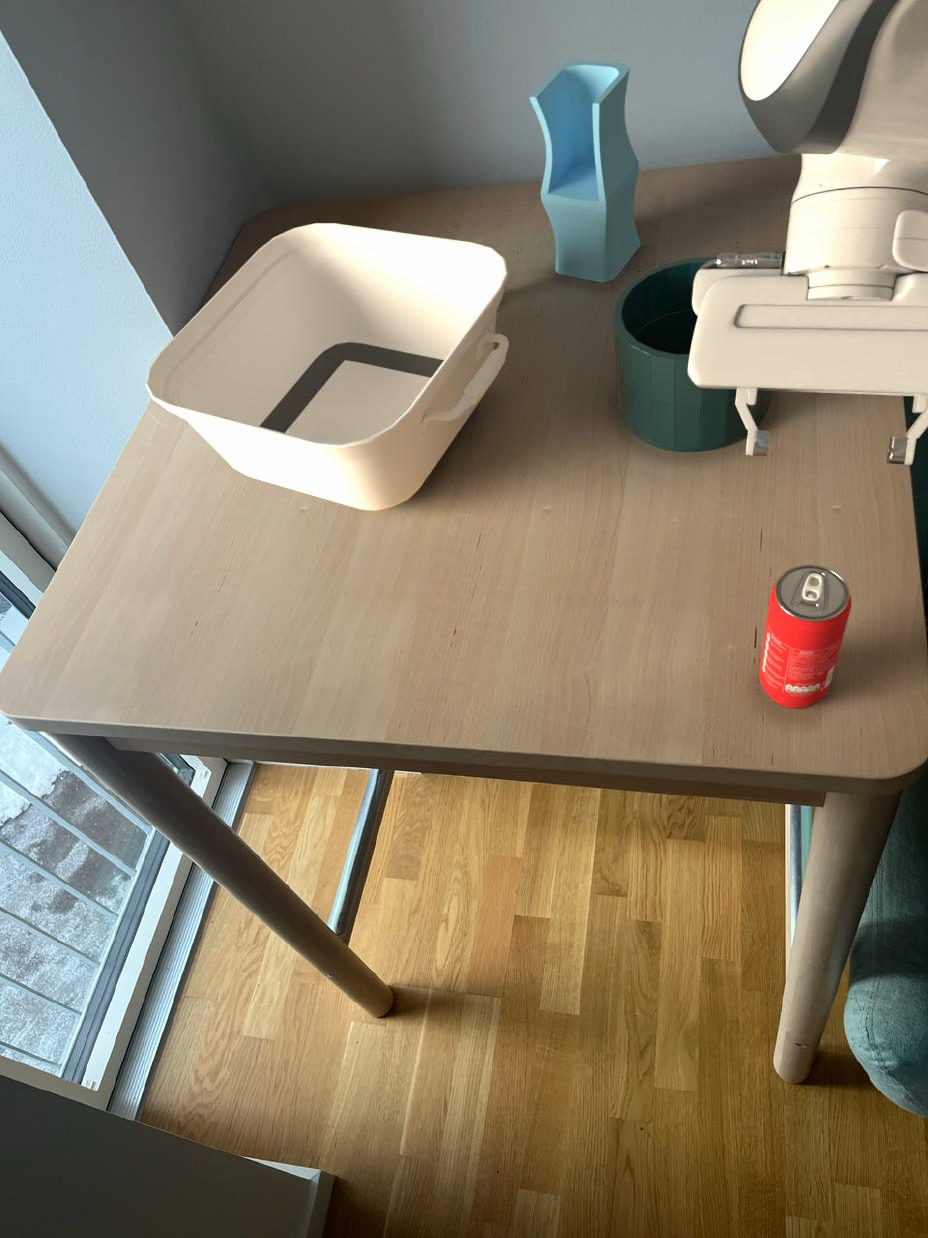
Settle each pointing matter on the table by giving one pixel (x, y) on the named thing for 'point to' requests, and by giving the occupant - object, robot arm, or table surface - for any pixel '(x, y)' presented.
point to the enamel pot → (670, 366)
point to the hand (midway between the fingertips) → (826, 459)
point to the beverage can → (803, 635)
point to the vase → (588, 168)
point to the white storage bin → (340, 360)
